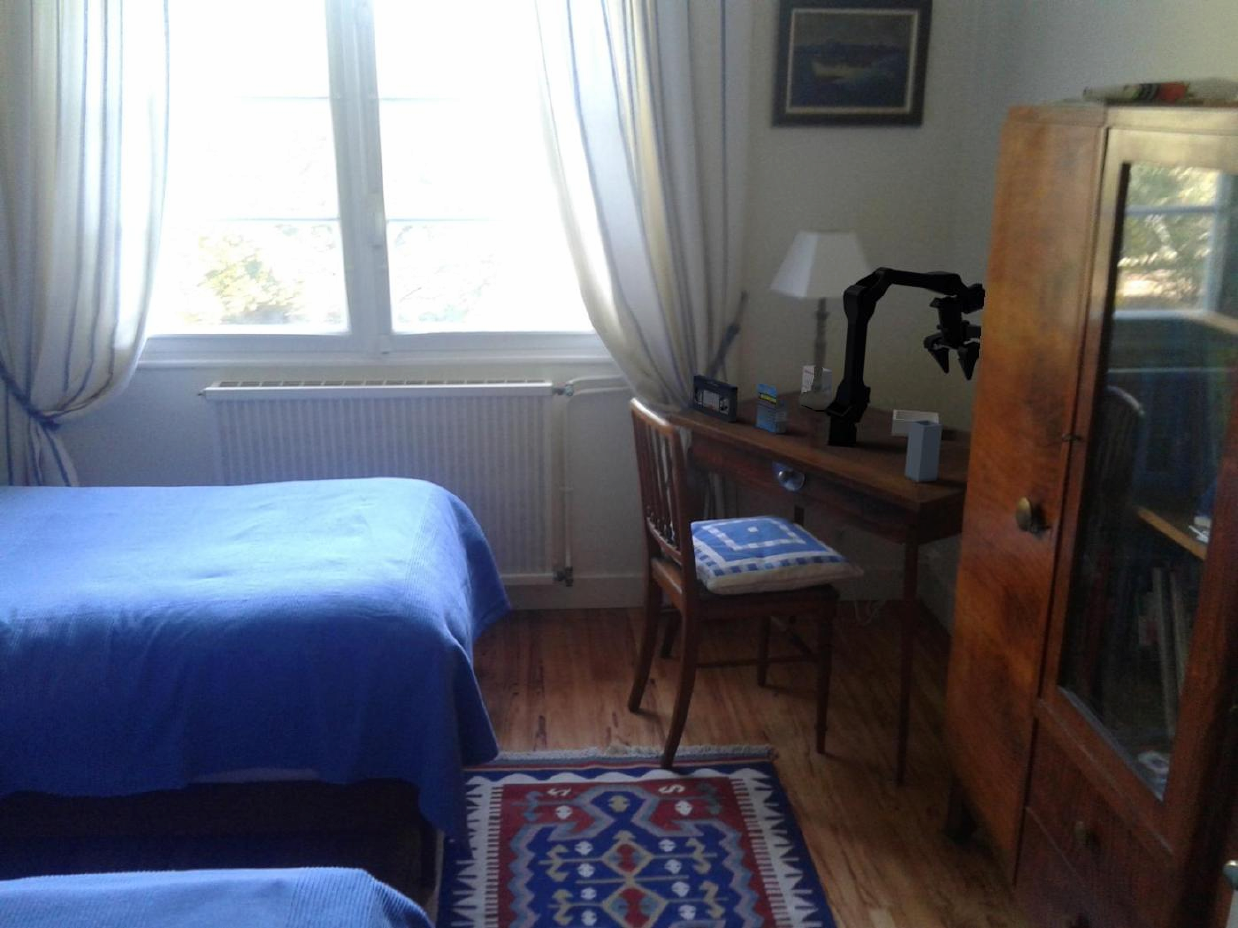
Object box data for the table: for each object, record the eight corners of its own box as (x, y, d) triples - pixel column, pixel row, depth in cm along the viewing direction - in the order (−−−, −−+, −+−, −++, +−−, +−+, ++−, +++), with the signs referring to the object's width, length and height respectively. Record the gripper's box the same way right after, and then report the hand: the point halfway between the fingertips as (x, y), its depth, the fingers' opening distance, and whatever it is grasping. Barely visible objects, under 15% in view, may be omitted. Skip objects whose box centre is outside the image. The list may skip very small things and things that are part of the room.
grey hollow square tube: (904, 476, 245) (910, 421, 241) (922, 474, 247) (928, 419, 243) (918, 482, 241) (923, 426, 237) (936, 480, 242) (942, 424, 239)
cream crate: (891, 435, 281) (892, 419, 279) (892, 425, 291) (893, 409, 290) (937, 439, 278) (938, 423, 277) (936, 428, 289) (938, 413, 287)
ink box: (830, 410, 307) (833, 370, 304) (815, 411, 305) (818, 371, 302) (814, 404, 315) (817, 364, 311) (799, 405, 313) (802, 365, 310)
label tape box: (786, 432, 281) (789, 387, 278) (773, 434, 280) (776, 388, 276) (767, 425, 289) (770, 380, 285) (754, 426, 287) (757, 381, 284)
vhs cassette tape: (691, 409, 305) (693, 375, 303) (700, 408, 307) (702, 374, 304) (727, 423, 290) (729, 387, 287) (737, 422, 291) (738, 386, 289)
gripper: (1000, 315, 267) (1007, 373, 273) (954, 305, 284) (960, 360, 290) (964, 329, 264) (971, 387, 270) (918, 318, 281) (926, 373, 287)
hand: (958, 376), depth 279 cm, fingers open, 9 cm apart
